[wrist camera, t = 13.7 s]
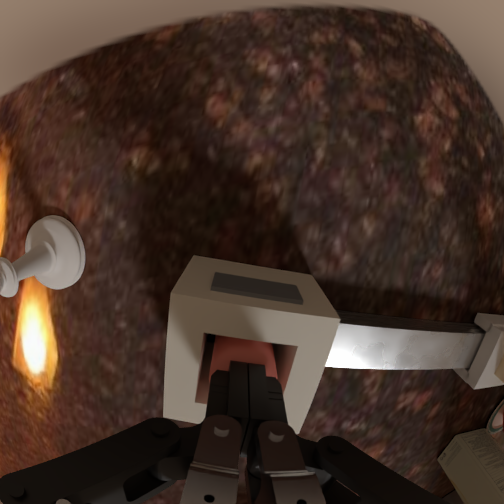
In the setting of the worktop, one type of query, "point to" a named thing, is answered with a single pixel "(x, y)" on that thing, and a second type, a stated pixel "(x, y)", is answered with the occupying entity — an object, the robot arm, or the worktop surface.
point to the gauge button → (242, 354)
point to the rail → (403, 343)
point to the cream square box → (245, 331)
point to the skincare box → (475, 467)
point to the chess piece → (46, 257)
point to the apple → (496, 420)
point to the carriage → (487, 355)
